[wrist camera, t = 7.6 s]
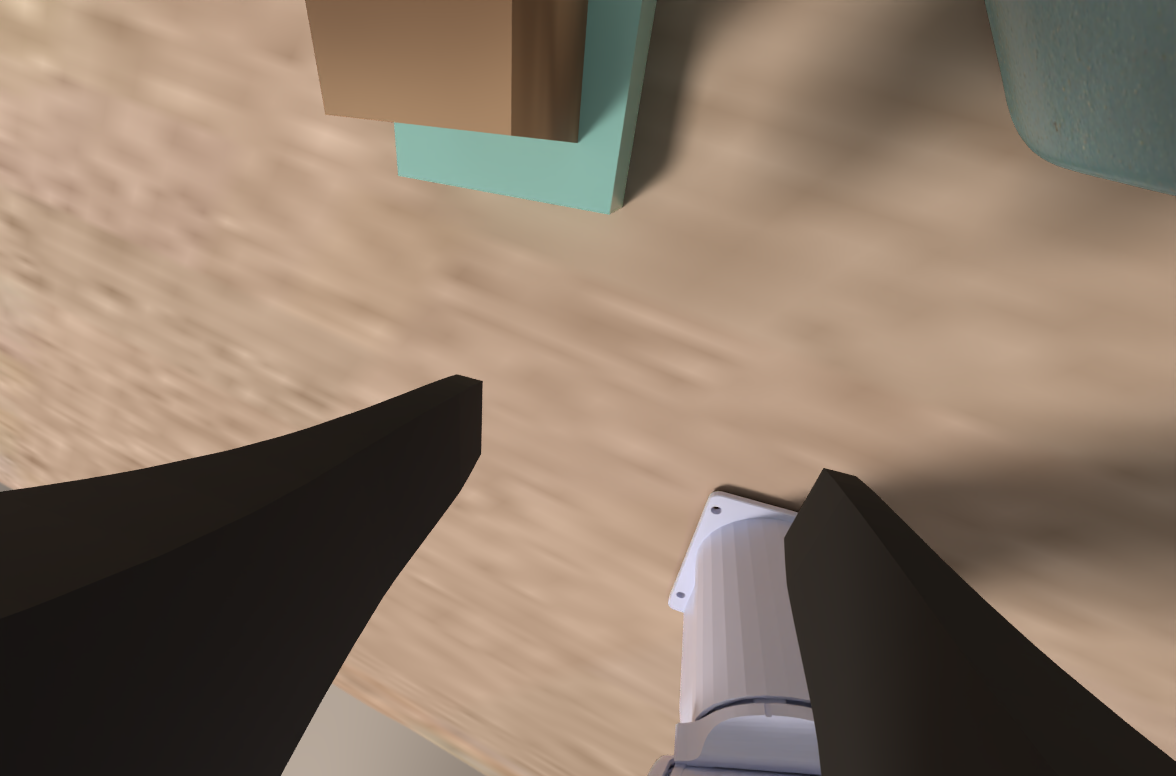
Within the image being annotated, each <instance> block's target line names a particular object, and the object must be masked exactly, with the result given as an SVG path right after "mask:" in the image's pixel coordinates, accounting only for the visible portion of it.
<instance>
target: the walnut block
mask: <svg viewBox="0 0 1176 776" xmlns="http://www.w3.org/2000/svg"><path fill="white" fill-rule="evenodd" d="M305 2H306V8H307V13H308V19H309V25H310V30H311V36H312V42H313V47H314V53H315V58H316V64H317V70H318V75H319V81H320V87H321V92H322V98H323V104H324V109H325V115H334V116H343V117H352V118H360V119H369V120H378V121H387V122H396V123H404V124H413V125H422V126H431V127H439V128H448V129H457V130H466V131H475V132H483V133H492V134H501V135H510V136H519V137H528V138H536V139H545V140H554V141H563V142H572V143H578V133H579V120H580V106H581V93H582V79H583V66H584V53H585V39H586V26H587V12H588V0H305Z"/></svg>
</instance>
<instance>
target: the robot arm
mask: <svg viewBox="0 0 1176 776" xmlns="http://www.w3.org/2000/svg"><path fill="white" fill-rule="evenodd" d="M482 383H483V381H480V380H476V379H473V378H469V377H465V376H461V375H454V376H450V377H447V378H444V379H441V380H438V381H436V382H433V383H430V384H428V385H425V386H422V387H420V388H417V389H415V390H412V391H410V392H407V393H404V394H402V395H399V396H397V397H394V398H391V399H389V400H386V401H384V402H381V403H378V404H376V405H373V406H371V407H368V408H365V409H362V410H360V411H357V412H354V413H351V414H348V415H345V416H342V417H339V418H336V419H333V420H330V421H328V422H325V423H322V424H319V425H316V426H313V427H310V428H307V429H304V430H300V431H297V432H294V433H291V434H287V435H284V436H280V437H277V438H273V439H270V440H266V441H262V442H258V443H255V444H251V445H247V446H243V447H240V448H236V449H232V450H228V451H224V452H219V453H214V454H210V455H205V456H200V457H196V458H191V459H187V460H182V461H177V462H173V463H168V464H163V465H159V466H154V467H149V468H145V469H139V470H134V471H129V472H123V473H117V474H112V475H106V476H100V477H94V478H89V479H83V480H76V481H70V482H63V483H57V484H51V485H44V486H38V487H31V488H24V489H17V490H10V491H3V492H0V776H281V774H282V772H283V770H284V768H285V766H286V765H287V763H288V761H289V759H290V758H291V756H292V754H293V752H294V750H295V748H296V747H297V745H298V743H299V741H300V739H301V737H302V736H303V734H304V732H305V730H306V728H307V727H308V725H309V723H310V721H311V719H312V717H313V716H314V714H315V712H316V710H317V708H318V707H319V704H320V703H321V701H322V699H323V697H324V696H325V694H326V692H327V691H328V689H329V687H330V685H331V684H332V682H333V680H334V679H335V677H336V675H337V673H338V672H339V670H340V668H341V666H342V665H343V663H344V661H345V660H346V658H347V656H348V654H349V653H350V651H351V649H352V647H353V646H354V644H355V642H356V641H357V639H358V638H359V636H360V634H361V633H362V631H363V629H364V628H365V626H366V624H367V623H368V621H369V619H370V618H371V616H372V614H373V613H374V611H375V610H376V608H377V606H378V605H379V603H380V601H381V600H382V598H383V596H384V595H385V594H386V592H387V591H388V589H389V588H390V586H391V585H392V583H393V582H394V580H395V579H396V578H397V576H398V575H399V573H400V572H401V571H402V569H403V568H404V567H405V565H406V564H407V563H408V561H409V560H410V559H411V557H412V556H413V555H414V553H415V552H416V551H417V549H418V548H419V547H420V545H421V544H422V543H423V541H424V540H425V539H426V537H427V536H428V534H429V533H430V532H431V530H432V529H433V528H434V526H435V525H436V524H437V522H438V521H439V520H440V518H441V517H442V516H443V514H444V513H445V512H446V510H447V509H448V507H449V506H450V505H451V503H452V502H453V501H454V499H455V498H456V496H457V495H458V494H459V492H460V491H461V489H462V487H463V486H464V484H465V482H466V480H467V479H468V477H469V475H470V473H471V472H472V470H473V468H474V466H475V464H476V462H477V460H478V458H479V457H480V455H481V434H482ZM712 507H719V509H714V508H712ZM668 605H669V606H670V607H671V608H672V609H674V610H677V611H680V612H683V613H684V623H683V644H682V665H681V686H680V723H677V724H676V731H675V749H674V755H663V756H661V757H660V758H658V759H657V760H656V761H655V763H654V764H653V766H652V767H651V769H650V771H649V773H648V776H1176V761H1174V760H1173V759H1172V758H1171V757H1169V756H1168V755H1167V754H1166V753H1164V752H1163V751H1162V750H1160V749H1159V748H1158V747H1157V746H1155V745H1154V744H1153V743H1152V742H1150V741H1149V740H1148V739H1147V738H1145V737H1144V736H1143V735H1142V734H1140V733H1139V732H1138V731H1136V730H1135V729H1134V728H1133V727H1131V726H1130V725H1129V724H1128V723H1126V722H1125V721H1124V720H1123V719H1122V718H1120V717H1119V716H1118V715H1117V714H1116V713H1114V712H1113V711H1112V710H1111V709H1110V708H1108V707H1107V706H1106V705H1105V704H1104V703H1102V702H1101V701H1100V700H1099V699H1097V698H1096V697H1095V696H1094V695H1093V694H1091V693H1090V692H1089V691H1088V690H1087V689H1085V688H1084V687H1083V686H1082V685H1081V684H1079V683H1078V682H1077V681H1076V680H1075V679H1073V678H1072V677H1071V676H1070V675H1069V674H1067V673H1066V672H1065V671H1064V670H1063V669H1061V668H1060V667H1059V666H1058V665H1057V664H1056V663H1054V662H1053V661H1052V660H1051V659H1050V658H1049V657H1047V656H1046V655H1045V654H1044V653H1043V652H1042V651H1041V650H1039V649H1038V648H1037V647H1036V646H1035V645H1034V644H1033V643H1031V642H1030V641H1029V640H1028V639H1027V638H1026V637H1025V636H1024V635H1023V634H1021V633H1020V632H1019V631H1018V630H1017V629H1016V628H1015V627H1014V626H1013V625H1012V624H1010V623H1009V622H1008V621H1007V620H1006V619H1005V618H1004V617H1003V616H1002V615H1001V614H999V613H998V612H997V611H996V610H995V609H994V608H993V607H992V606H991V605H990V604H988V603H987V602H986V601H985V600H984V599H983V598H982V597H981V596H980V595H979V594H978V593H977V592H976V591H975V590H974V589H972V588H971V587H970V586H969V585H968V584H967V583H966V582H965V581H964V580H963V579H962V578H961V577H960V576H959V575H958V574H957V573H956V572H955V571H954V570H953V569H952V568H951V567H950V566H948V565H947V564H946V563H945V562H944V561H943V560H942V559H941V558H940V557H939V556H938V555H937V554H936V553H935V552H934V551H933V550H932V549H931V548H930V547H929V546H928V545H927V544H926V543H925V542H924V541H923V540H922V539H921V538H920V537H919V536H918V535H917V534H916V533H915V532H914V531H913V530H912V529H911V528H910V527H909V526H908V525H907V524H906V523H905V522H904V521H903V520H902V519H901V518H900V517H899V516H898V515H897V514H896V513H895V512H894V511H893V510H892V509H891V508H890V507H889V506H888V505H887V504H886V503H885V502H884V501H883V500H882V499H881V498H880V497H879V496H878V495H876V494H875V493H874V492H873V491H872V490H871V489H870V488H869V487H868V486H867V485H866V484H865V483H863V482H862V481H861V480H860V479H859V478H857V477H856V476H853V475H849V474H845V473H841V472H837V471H833V470H829V469H825V468H823V470H822V472H821V473H820V475H819V477H818V479H817V481H816V482H815V484H814V486H813V488H812V489H811V491H810V493H809V495H808V496H807V498H806V500H805V502H804V503H803V505H802V507H801V509H800V510H799V512H794V511H791V510H787V509H784V508H780V507H776V506H773V505H769V504H765V503H762V502H758V501H755V500H751V499H747V498H744V497H740V496H737V495H733V494H729V493H726V492H722V491H715V492H713V493H711V494H710V495H709V497H708V500H707V502H706V505H705V508H704V510H703V513H702V515H701V518H700V520H699V523H698V525H697V528H696V530H695V533H694V535H693V538H692V540H691V543H690V545H689V548H688V550H687V553H686V555H685V558H684V560H683V563H682V565H681V568H680V570H679V573H678V576H677V578H676V581H675V583H674V586H673V588H672V591H671V593H670V596H669V600H668Z"/></svg>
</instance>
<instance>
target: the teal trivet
mask: <svg viewBox="0 0 1176 776" xmlns="http://www.w3.org/2000/svg"><path fill="white" fill-rule="evenodd" d="M656 2H657V0H588V12H587V26H586V39H585V53H584V66H583V79H582V93H581V106H580V120H579V133H578V143H572V142H563V141H554V140H545V139H536V138H528V137H519V136H510V135H501V134H492V133H483V132H475V131H466V130H457V129H448V128H439V127H431V126H422V125H413V124H404V123H396V122H394V127H395V140H396V153H397V166H398V176H403V177H408V178H414V179H419V180H424V181H430V182H435V183H441V184H446V185H452V186H457V187H462V188H468V189H473V190H479V191H484V192H490V193H495V194H501V195H506V196H511V197H517V198H522V199H528V200H533V201H539V202H544V203H549V204H555V205H560V206H566V207H571V208H577V209H582V210H587V211H593V212H598V213H604V214H609V215H610V214H611V213H613V212H615V211H617V210H619V209H620V208H622V207H623V201H624V195H625V189H626V183H627V177H628V171H629V165H630V159H631V153H632V147H633V141H634V135H635V129H636V123H637V117H638V111H639V105H640V99H641V93H642V87H643V81H644V75H645V69H646V63H647V57H648V50H649V44H650V38H651V32H652V26H653V20H654V14H655V8H656Z"/></svg>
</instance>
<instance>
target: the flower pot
mask: <svg viewBox="0 0 1176 776" xmlns="http://www.w3.org/2000/svg"><path fill="white" fill-rule="evenodd" d="M984 1H985V5H986V9H987V14H988V18H989V23H990V27H991V31H992V36H993V40H994V45H995V49H996V53H997V58H998V62H999V67H1000V71H1001V76H1002V81H1003V86H1004V91H1005V96H1006V101H1007V105H1008V108H1009V112H1010V115H1011V118H1012V121H1013V123H1014V125H1015V127H1016V129H1017V131H1018V133H1019V135H1020V136H1021V138H1022V139H1023V141H1024V142H1025V143H1026V145H1027V146H1028V147H1029V148H1030V149H1031V150H1032V151H1033V152H1034V153H1036V154H1037V155H1038V156H1040V157H1041V158H1043V159H1044V160H1046V161H1048V162H1050V163H1052V164H1055V165H1057V166H1059V167H1063V168H1066V169H1069V170H1073V171H1076V172H1080V173H1083V174H1087V175H1091V176H1095V177H1099V178H1103V179H1108V180H1112V181H1116V182H1120V183H1124V184H1128V185H1132V186H1136V187H1140V188H1144V189H1148V190H1152V191H1157V192H1161V193H1165V194H1170V195H1174V196H1176V0H984Z"/></svg>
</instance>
